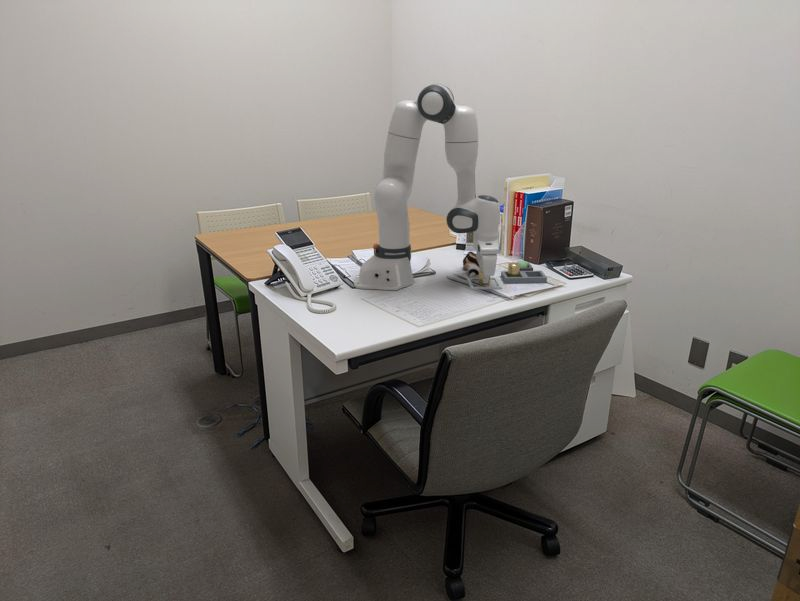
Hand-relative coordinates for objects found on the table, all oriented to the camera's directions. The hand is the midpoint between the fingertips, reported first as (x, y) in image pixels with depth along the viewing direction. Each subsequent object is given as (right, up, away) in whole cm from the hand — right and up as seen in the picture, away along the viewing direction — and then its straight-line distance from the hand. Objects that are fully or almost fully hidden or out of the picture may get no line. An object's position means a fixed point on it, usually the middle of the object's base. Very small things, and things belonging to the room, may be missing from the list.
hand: (484, 280), depth 196 cm
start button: (+16, +3, +12) cm, 20 cm away
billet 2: (+11, 0, +4) cm, 12 cm away
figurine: (-3, +2, +13) cm, 14 cm away
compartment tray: (+15, -1, +5) cm, 16 cm away
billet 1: (0, -2, +1) cm, 2 cm away
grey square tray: (0, -2, +1) cm, 3 cm away
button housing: (+16, +2, +12) cm, 20 cm away
